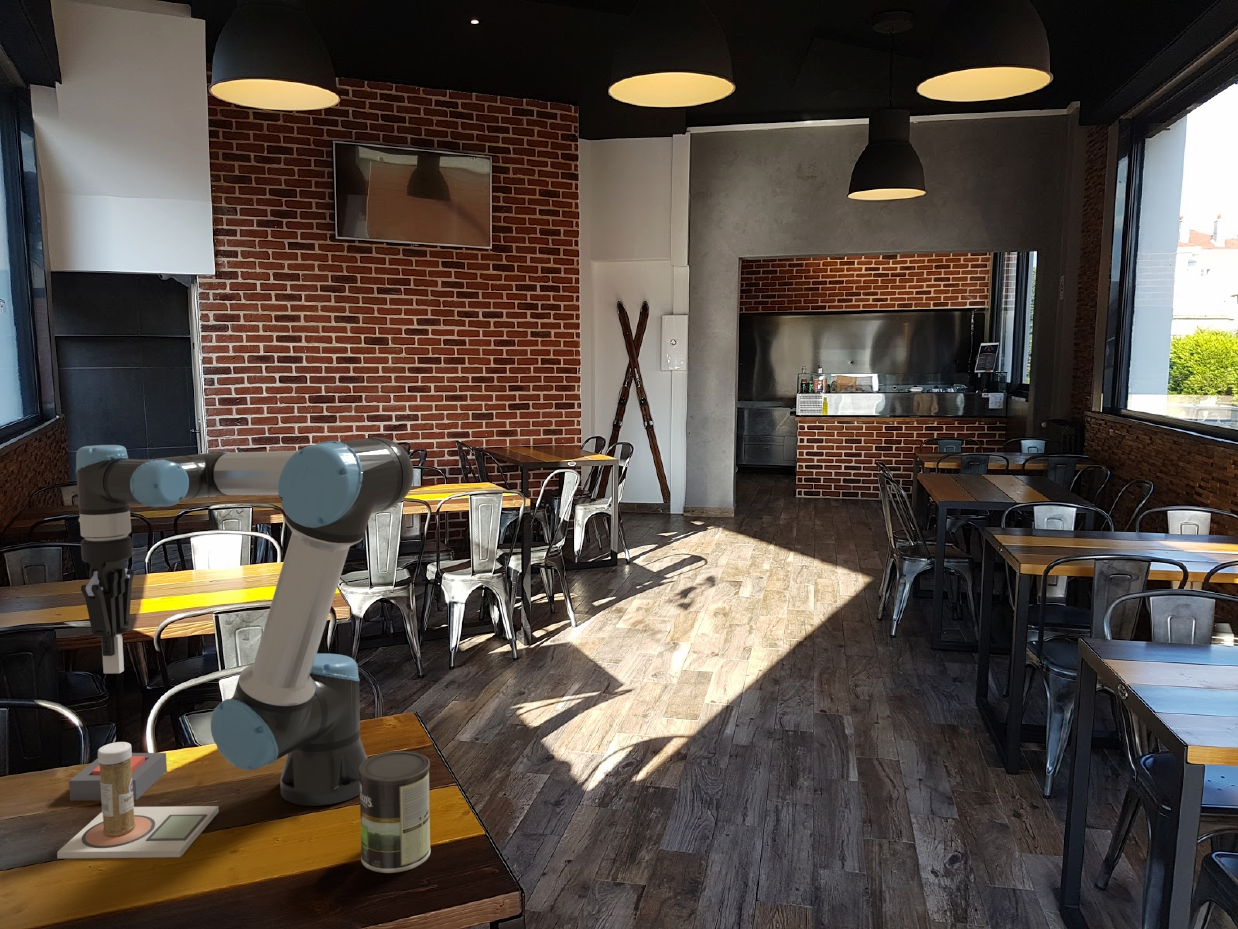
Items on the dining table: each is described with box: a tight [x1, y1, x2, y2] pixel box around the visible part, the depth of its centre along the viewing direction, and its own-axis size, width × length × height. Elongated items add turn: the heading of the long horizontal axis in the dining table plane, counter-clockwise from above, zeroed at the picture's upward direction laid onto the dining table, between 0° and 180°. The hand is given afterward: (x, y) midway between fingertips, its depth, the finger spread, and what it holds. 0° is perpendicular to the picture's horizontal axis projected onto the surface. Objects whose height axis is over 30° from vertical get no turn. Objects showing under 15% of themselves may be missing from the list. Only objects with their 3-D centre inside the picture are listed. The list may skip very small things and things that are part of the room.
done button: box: [92, 756, 145, 775], centre depth 160 cm, size 6×6×3 cm
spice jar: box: [97, 741, 136, 836], centre depth 142 cm, size 5×5×14 cm
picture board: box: [56, 805, 220, 859], centre depth 143 cm, size 18×14×1 cm
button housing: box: [68, 752, 168, 802], centre depth 160 cm, size 11×11×4 cm
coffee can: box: [358, 750, 432, 874], centre depth 137 cm, size 10×10×14 cm
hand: (113, 671), depth 158 cm, fingers closed
